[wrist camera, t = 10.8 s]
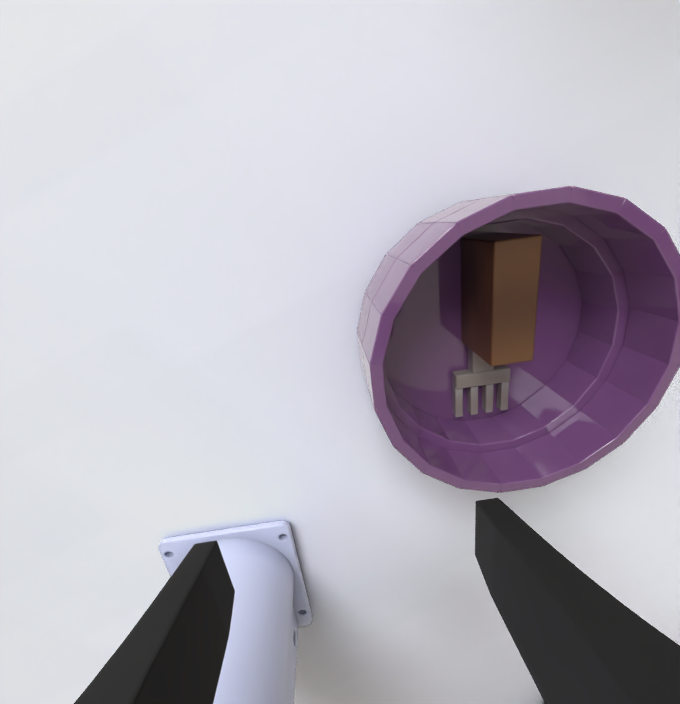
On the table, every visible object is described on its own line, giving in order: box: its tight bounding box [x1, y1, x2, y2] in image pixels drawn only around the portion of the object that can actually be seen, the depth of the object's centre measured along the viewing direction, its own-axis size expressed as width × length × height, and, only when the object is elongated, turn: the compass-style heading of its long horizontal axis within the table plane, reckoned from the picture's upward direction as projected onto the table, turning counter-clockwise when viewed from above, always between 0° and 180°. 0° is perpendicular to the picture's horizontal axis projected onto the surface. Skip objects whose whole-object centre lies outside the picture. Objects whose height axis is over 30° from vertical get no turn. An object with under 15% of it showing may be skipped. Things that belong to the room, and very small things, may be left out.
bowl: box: [357, 186, 680, 493], centre depth 15 cm, size 12×12×5 cm
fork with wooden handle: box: [452, 232, 542, 417], centre depth 15 cm, size 9×3×3 cm, turn 8°
